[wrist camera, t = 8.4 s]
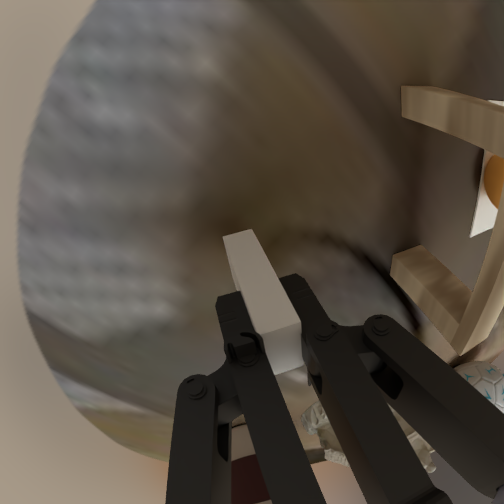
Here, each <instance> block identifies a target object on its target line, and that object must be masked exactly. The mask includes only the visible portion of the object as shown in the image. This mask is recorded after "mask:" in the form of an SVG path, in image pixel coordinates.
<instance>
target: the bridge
mask: <svg viewBox="0 0 504 504" xmlns="http://www.w3.org/2000/svg"><path fill="white" fill-rule="evenodd" d="M401 108H402V117H404V118H407V119H410V120H413V121H416V122H419V123H421V124H424V125H427V126H430V127H432V128H435V129H438V130H440V131H443V132H445V133H448V134H450V135H453V136H455V137H458V138H460V139H462V140H465V141H467V142H469V143H472V144H474V145H476V146H478V147H480V148H482V149H485V150H487V151H489V152H491V153H493V154H495V155H497V156H499V157H501V158H503V159H504V106H501V105H498V104H495V103H492V102H489V101H486V100H482V99H479V98H476V97H472V96H469V95H465V94H462V93H458V92H454V91H450V90H446V89H442V88H438V87H434V86H401ZM390 276H391V277H392V278H393V279H394V280H395V281H396V282H397V283H398V284H399V285H400V287H401V288H402V289H403V290H404V291H405V292H406V293H407V294H408V295H409V297H410V298H411V299H412V300H413V301H414V302H415V303H416V304H417V306H418V307H419V308H420V309H421V310H422V311H423V312H424V314H425V315H426V316H427V317H428V318H429V319H430V321H431V322H432V323H433V324H434V325H435V327H436V328H437V329H438V330H439V331H440V333H441V334H442V335H443V336H444V337H445V339H446V340H447V341H448V342H449V343H450V345H451V346H452V347H453V348H454V350H455V351H456V352H457V353H458V355H459V356H461V355H463V354H464V353H466V352H467V351H469V350H470V349H472V348H473V347H475V346H476V345H477V344H479V343H480V342H482V341H483V340H484V339H486V338H487V337H488V335H489V333H490V331H491V329H492V328H493V326H494V324H495V322H496V320H497V318H498V316H499V314H500V312H501V310H502V308H503V306H504V183H503V188H502V193H501V198H500V203H499V207H498V212H497V216H496V220H495V224H494V228H493V231H492V235H491V239H490V242H489V245H488V249H487V252H486V255H485V258H484V262H483V265H482V268H481V270H480V273H479V276H478V279H477V282H476V285H475V287H474V290H473V292H472V291H471V290H469V289H468V288H467V287H466V286H465V285H464V284H463V283H462V282H461V281H460V280H459V279H458V278H457V277H456V276H455V275H454V274H453V273H452V272H451V271H450V270H449V269H447V268H446V267H445V266H444V265H443V264H442V263H441V262H440V261H439V260H438V259H437V258H435V257H434V256H433V255H432V254H431V253H430V252H429V251H428V250H426V249H425V248H424V247H423V246H422V245H419V246H416V247H413V248H410V249H408V250H405V251H402V252H399V253H397V254H394V255H393V257H392V264H391V270H390Z"/></svg>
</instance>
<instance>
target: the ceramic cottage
mask: <svg viewBox="0 0 504 504" xmlns="http://www.w3.org/2000/svg"><path fill="white" fill-rule="evenodd" d="M387 404H388V403H387ZM388 406H389V407H390V409H391V411H392V412H393V414H394V416H395V417H396V419H397V421H398V423H399V424H400V426H401V428H402V430H403V431H404V433H405V435H406V437H407V438H408V440H409V442H410V444H411V445H412V447H413V449H414V451H415V452H416V454H417V456H418V458H419V460H420V461H421V463H422V465H423V467H424V468H426V470H427V472H429V473H431V472H433V471H434V470H435V469H436V467H435V465H434V464H433V462H432V460H431V457H430V453H432V452H434V451H435V450H434V449H433V448H432V447H431V446H430V445H429V444H428V443H427V442H426V441H425V440H424V439H423V438H422V437H421V436H420V435H419V434H418V433H417V432H416V431H415V430H414V429H413V428H412V427H411V426H410V425H409V424H408V423H407V422H406V421H405V420H404V419H403V418H402V417H401V416H400V415H399V414H398V413H397V412H396V411H395V410H394V409H393V408H392V407H391V406H390V405H389V404H388ZM301 421H302V423H303V425H304V427H305V429H306V431H307V432H308V433H309V434H311V435H313V434H315V433H316V434H317V435H318V437H319V439H320V444H321V447H322V448H325V459H327V460H329V461H332V462H335V463H340V464H342V465H344V466H347V467H350V465H349V463H348V461H347V459H346V456H345V454H344V452H343V450H342V448H341V446H340V443H339V441H338V439H337V437H336V435H335V433H334V431H333V428H332V426H331V424H330V422H329V420H328V418H327V416H326V413H325V411H324V409H323V407H322V405H321V403H320V400H319V401H318V402H316V403H314V404H313V405H312V406H310V407H309V408H308V409H307V410H306V411H305V413H304V414H303V415H302V419H301Z"/></svg>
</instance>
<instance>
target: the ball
mask: <svg viewBox="0 0 504 504" xmlns="http://www.w3.org/2000/svg"><path fill="white" fill-rule="evenodd" d="M503 183H504V159H503V158H501V157H499V156H497V155H495V154H494V155H493V156H492V157H491V158H490V160H489V161H488V163H487V165H486V168H485V172H484V187H485V191H486V194H487V196H488V198H489V200H490V201H491V203H492V204H493V205H494V206H495V207H496V208H497V209H498V207H499V203H500V198H501V193H502V188H503Z"/></svg>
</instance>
